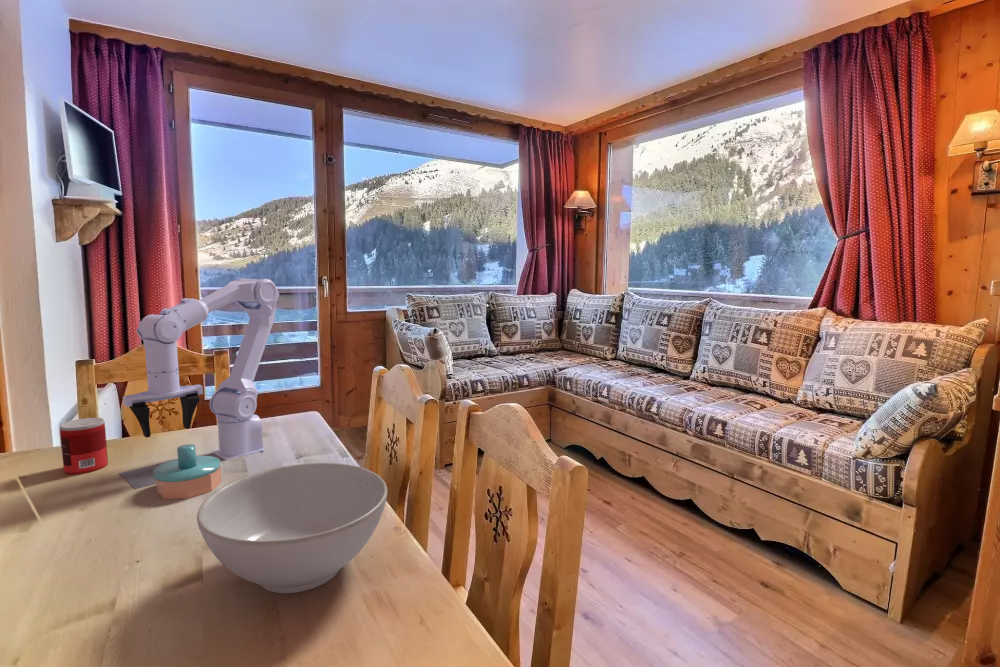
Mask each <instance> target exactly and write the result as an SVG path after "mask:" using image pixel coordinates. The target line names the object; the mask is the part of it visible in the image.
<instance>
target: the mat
mask: <svg viewBox="0 0 1000 667" xmlns="http://www.w3.org/2000/svg"><path fill="white" fill-rule="evenodd" d="M169 461H172V460H168V461H164V462H163V461H162V462H160V463H156V464H150V465H148V466H143V467H139V468H135V469H131V470H126V471H123V472H118V475H120V476H121V477H122V478H123V479H124V481H126V482H127V483H128V484H129V486H131V487H132V488H133V489H134V490H137V489H138V490H139V489H142V488H146V487H149V486H153V485H157V482H156V479H155V478H154V477H153V471H154V469H155V468H156V467H158V466H160V465H161V464H164V463H166V462H169Z"/></svg>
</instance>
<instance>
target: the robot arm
mask: <svg viewBox="0 0 1000 667" xmlns="http://www.w3.org/2000/svg"><path fill="white" fill-rule="evenodd" d="M278 290H279V289H278V287H277V286H276V283H274V281H273V280H272V279H268V278H263V279H257V278H255V279H254V278H246V277H239V278H237V279H235V280H231V281H229V282H228V283H227V284H226V285H224V286H223V287H220V288H219V289H218V290H215V291H213V292H212V293H209V294H208V295H206V296H204V297H203V298H200V299H199V300H198V299H196V298H188V297H187V298H186V297H185V298H182V299H180V300H179V302H180V303H178V304H176V305H173V306H172V307H169V308H167V307H166V308H165V307H164V308H162V309H161V310H160V313H159V314H154V313H152V314H148V315H146V316H145V317H143V318H142V319H141V320H140V322H139V326H138V327H137V328H136V329H135V330H136V333H137V335H138V337H139V338H140V339H141V340H142V341H143V347H144V350H145V351H144V353H145V365H146V366H145V368H146V375H147V376H146V377H147V390H146V391H141V392H138V393H133V394H128V395H124V396H122V401H123V406H125V408H129V409H130V411H131V412H132V413H133V414H134V417H136V420H137V421H138V423H139V425H140V427H141V428H140V429H141V431H142V435H143V436H144V437H145V438H151V435H152V434H151V433H152V432H151V426H150V412H151V411H150V410H151V408H150V407H149V406H148V404H147V403H153V402H159V401H164V400H171V399H177V398H179V401H180V406H181V411H182V426H183V428H184V429H186V430H190V429H191V424H192V422H193V421H192V419H193V415H194V413H195V410H196V409H197V406H198V405H199V403H200V400H201V397H200V396H199V395H203V394H204V389H203V388H204V387H203V385H201V384H193V385H192V384H191V385H180V371H179V370H180V369H179V357H178V356H179V355H178V343H177V341H179V339H180V338H181V336H182V334H183V333H184V332H186V331H188V330H190V329H191V328H193V327H195V326H197V325H199V324H201V323H204V322H205V321H206V320H207V318H208V314H209V313H211V312H213V311H215V310H216V311H217V310H218V309H220V308H223V307H224V306H227V305H229V304H232V303H233V302H236V303H237V304H238V306H240V307H241V308H242V310H243V311H245V313H246V314H247V316H248V317H249V321H248V324H247V326H246V329H245V332H244V335H243V337H242V341H241V343H240V345H239V349H238V352H237V355H236V358H235V360H234V363H233V366H232V368H231V371H230V374H229V377H227V378H226V379H225V380H224V381H223V380H222V382H220V383H219V385H218V387H217V389H216V391H214V393H213V394H212V396H211V397H210V399H209V409H210V411H211V412H212V413H213V414H214V415H215V419H216V420H217V432H218V434H217V436H218V448H219V449H216V450H212V453H213V454H215V455H216V456H217V457H220V458H221V459H222V460H224V461H228V460H229V461H230V460H234V459H236V458H240V457H244V456H247V455H253V454H256V453H261V451H262V452H265V451H264V450H266V449H265V448H264V434H263V423H262V420H261V418H260V416H259V415H258V414H255V412H256V410H257V406H258V403H257V399H258V394H259V391H258V389H257V387H256V386H255V384H254V380H255V379H256V374H257V372H258V369H259V366H260V363H261V359H262V356H263V354H264V351H265V348H266V345H267V342H268V339H269V336H270V333H271V330H272V327H273V325H274V322H275V318H276V306H277V303H278V299H279V297H280V293H279V291H278Z"/></svg>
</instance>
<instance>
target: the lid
mask: <svg viewBox="0 0 1000 667" xmlns="http://www.w3.org/2000/svg"><path fill="white" fill-rule="evenodd" d="M176 448H177V449H176V450H177V458H176V459H173V460H172V461H171V460H168V461H169V462H167V461H165V462H166V463H164V464H161V465H160V466H158V467H156V468H155V469H154V471H153V477H154V478H155V479H156V480H159V481H163V482H179V481H187V480H192V479H197V478H200V477H203V476H206V475H209V474H211V473H213V472H215V471H216V470H218V469H219V467H220V466H221V460H220V459H219V458H218V457H215V456H212V455H211V456H210V455H196V452H197V450H196V445H195V444H191V443H189V444H187V443H186V444H182V445H180V446H177V447H176Z"/></svg>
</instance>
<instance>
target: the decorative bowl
mask: <svg viewBox="0 0 1000 667" xmlns="http://www.w3.org/2000/svg"><path fill="white" fill-rule="evenodd" d="M387 498H388V486H387V484H386V482H385V481H384V479H383V478H382V477H381V476H380V475H379V474H378V473H375V472H374V471H371V470H370V469H367V468H364V467H361V466H356V465H352V464H345V463H338V462H336V463H335V462H313V463H312V462H311V463H299V464H292V465H286V466H279V467H274V468H270V469H266V470H262V471H258V472H256V473H253V474H250V475H246V476H243V477H241V478H238V479H236V480H234V481H232V482H229V483H228V484H226V485H224V486H222V487H221V488H219V489H216V491H214V492H213V493H212V494H211V495H209V496H208V497H207V498H206V499H205V500H204V501H203V502H202V504H200V507H199V508H198V511H197V514H196V521H197V526H198V529H199V531H200V533H201V537H202V539H203V540H204V541H205V543H206V546H207V547H208V549H210V551H211V553H212V554H213V555H214V556H215V557H216V559H217V560H218V561H219V562H220V563H221V564H222V565H223V566H224V567H225V568H226V569H228V570H229V571H230V572H232V573H234V575H236V576H238V577H240V578H242V579H244V580H246V581H248V582H250V583H254V584H257V585H260V587H261V588H262V589H264V590H266V591H269V592H273V593H277V594H294V593H302V592H306V591H308V590H312V589H315V588H317V587H319V586H322V585H324V584H326V583H327V582H329V581H331V580H332V579H333V578H335V576H336V575H337V574H338V573H339V571H340V570H341V569H343V567H344V566H346V565H347V564H349V563H350V562H351V561H353V559H354V558H355V557H357V555H358V554H359V553H360V552H361V551H362V549H363V548H364V547H365V546H366V544H368V542H369V540H370V539H371V537H372V535H374V532H375V531H376V529H377V526H378V525H379V523H380V520H381V518H382V516H383V512H384V509H385V505H386V503H387Z"/></svg>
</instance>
